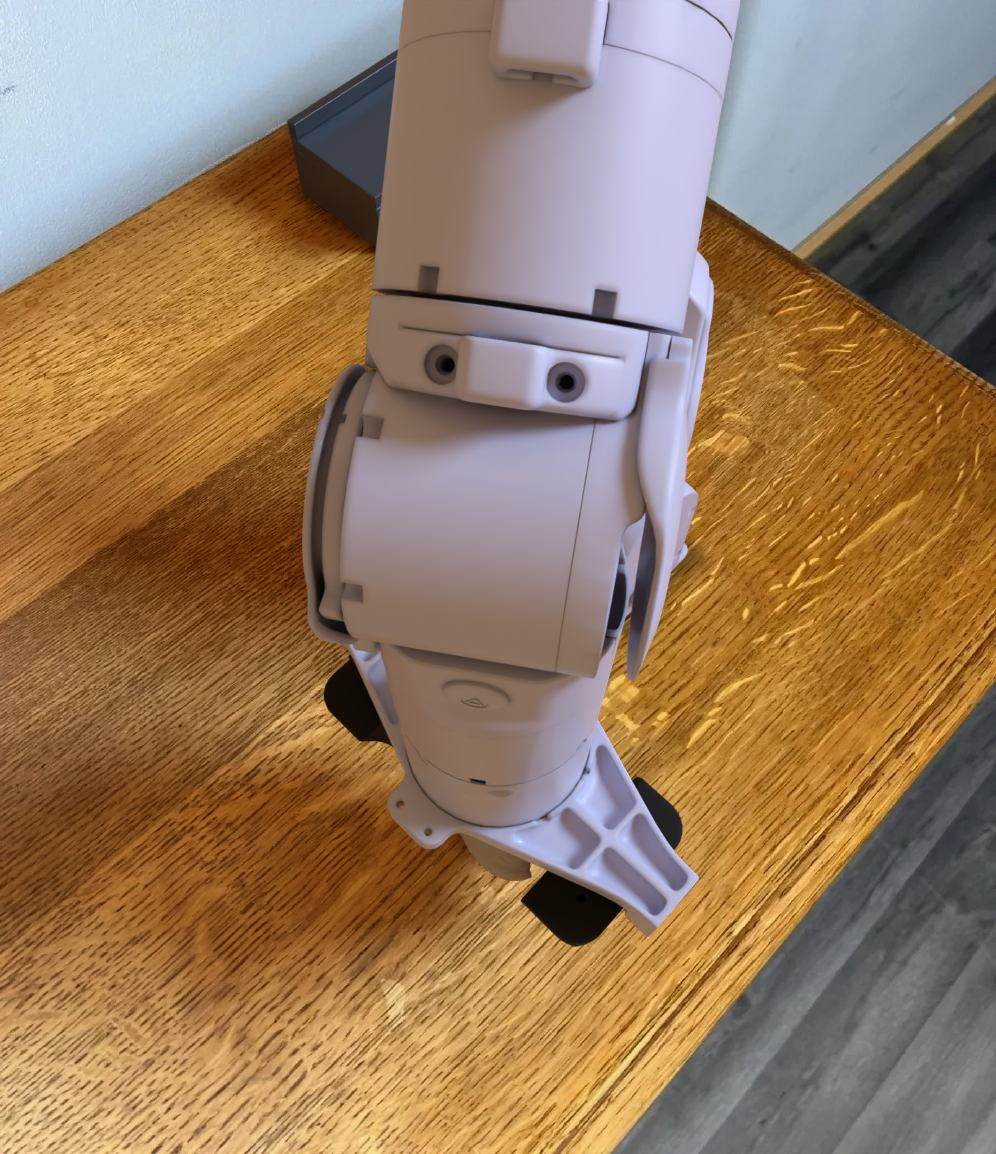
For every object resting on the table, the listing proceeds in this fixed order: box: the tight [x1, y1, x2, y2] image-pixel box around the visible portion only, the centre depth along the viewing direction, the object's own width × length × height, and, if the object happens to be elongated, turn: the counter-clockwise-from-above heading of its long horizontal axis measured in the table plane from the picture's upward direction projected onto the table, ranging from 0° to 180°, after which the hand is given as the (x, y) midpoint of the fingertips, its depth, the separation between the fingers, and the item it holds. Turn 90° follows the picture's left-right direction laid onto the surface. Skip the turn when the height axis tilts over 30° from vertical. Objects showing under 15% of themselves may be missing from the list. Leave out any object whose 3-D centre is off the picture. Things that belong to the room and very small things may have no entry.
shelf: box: [286, 48, 398, 249], centre depth 58 cm, size 7×12×5 cm, turn 136°
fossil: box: [459, 833, 533, 882], centre depth 38 cm, size 6×4×10 cm, turn 179°
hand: (497, 809), depth 39 cm, fingers open, 7 cm apart
